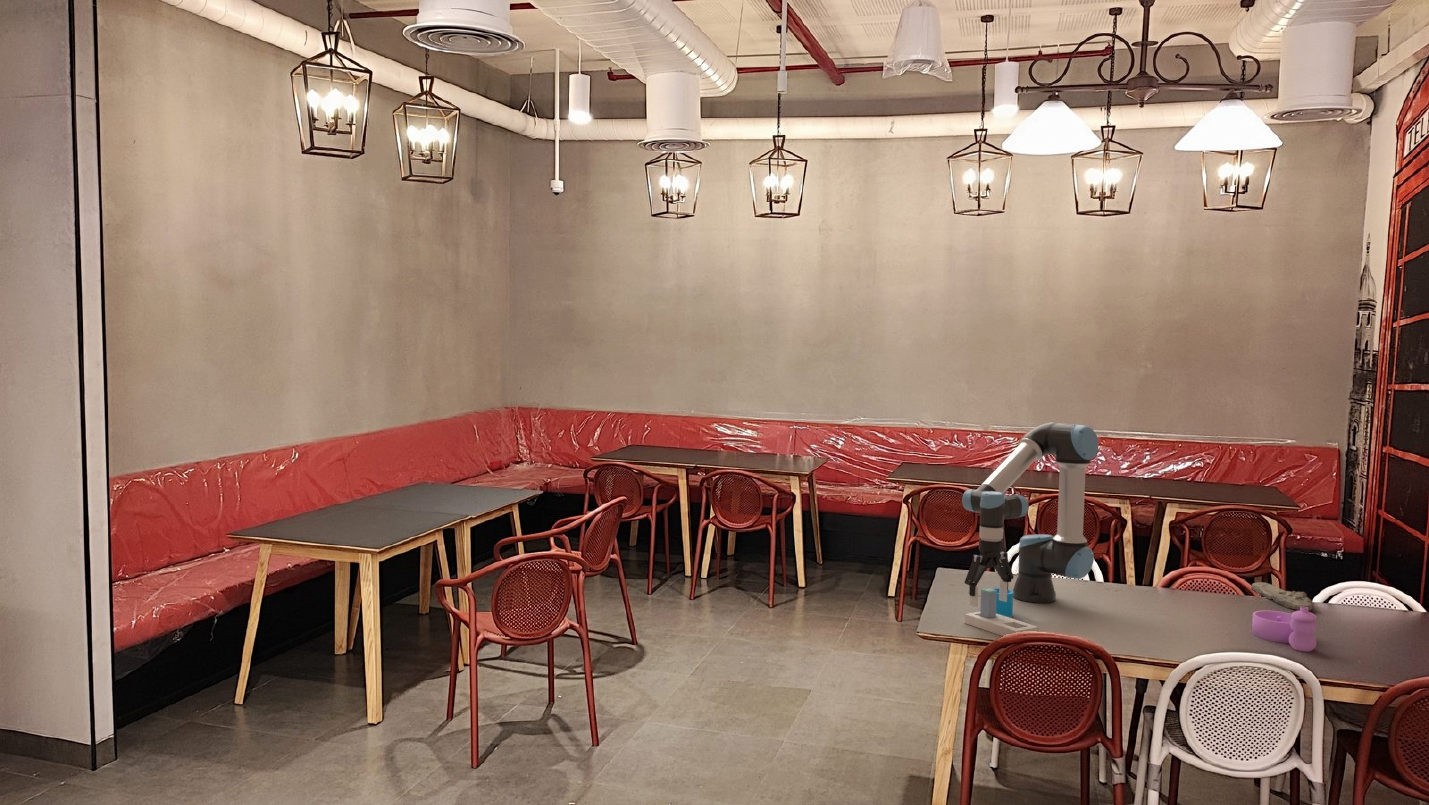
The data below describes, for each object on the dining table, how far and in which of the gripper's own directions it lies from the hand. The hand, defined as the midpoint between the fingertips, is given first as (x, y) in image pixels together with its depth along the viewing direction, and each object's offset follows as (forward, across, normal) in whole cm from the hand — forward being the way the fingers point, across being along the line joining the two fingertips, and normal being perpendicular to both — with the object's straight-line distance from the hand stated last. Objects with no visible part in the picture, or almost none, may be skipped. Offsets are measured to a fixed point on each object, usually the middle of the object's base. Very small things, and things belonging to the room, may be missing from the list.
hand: (988, 603), depth 335 cm
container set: (+7, -73, +58) cm, 93 cm away
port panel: (+7, 0, +6) cm, 9 cm away
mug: (+8, -15, -8) cm, 19 cm away
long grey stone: (+7, -122, +28) cm, 126 cm away
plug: (+7, 0, 0) cm, 7 cm away
